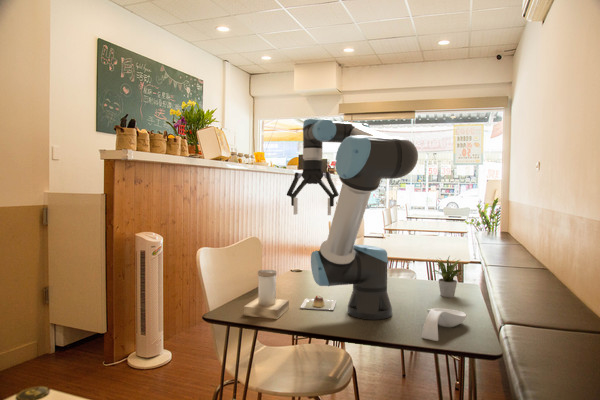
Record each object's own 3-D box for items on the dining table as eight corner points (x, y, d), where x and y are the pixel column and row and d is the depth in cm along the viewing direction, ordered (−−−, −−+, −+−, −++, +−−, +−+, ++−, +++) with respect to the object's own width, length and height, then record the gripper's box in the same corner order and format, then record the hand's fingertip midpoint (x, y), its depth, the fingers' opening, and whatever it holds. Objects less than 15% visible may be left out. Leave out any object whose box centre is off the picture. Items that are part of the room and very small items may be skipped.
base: (288, 308, 144) (289, 300, 144) (277, 319, 133) (277, 310, 133) (257, 305, 148) (257, 297, 147) (243, 315, 136) (243, 306, 136)
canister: (278, 301, 142) (278, 270, 142) (272, 306, 136) (272, 274, 136) (261, 299, 144) (261, 269, 144) (255, 305, 138) (255, 273, 137)
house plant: (426, 299, 158) (427, 257, 158) (424, 290, 172) (425, 252, 171) (465, 301, 155) (466, 259, 154) (460, 292, 168) (461, 253, 168)
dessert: (305, 301, 156) (305, 288, 155) (336, 303, 154) (336, 290, 153) (299, 310, 144) (299, 297, 144) (333, 312, 142) (333, 299, 142)
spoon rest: (433, 315, 138) (433, 295, 138) (469, 322, 132) (470, 300, 132) (410, 337, 119) (410, 312, 118) (451, 345, 112) (452, 320, 112)
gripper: (346, 160, 157) (345, 214, 157) (285, 161, 164) (284, 213, 165) (342, 158, 150) (342, 216, 150) (279, 159, 157) (278, 214, 157)
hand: (312, 214), depth 157 cm, fingers open, 13 cm apart
